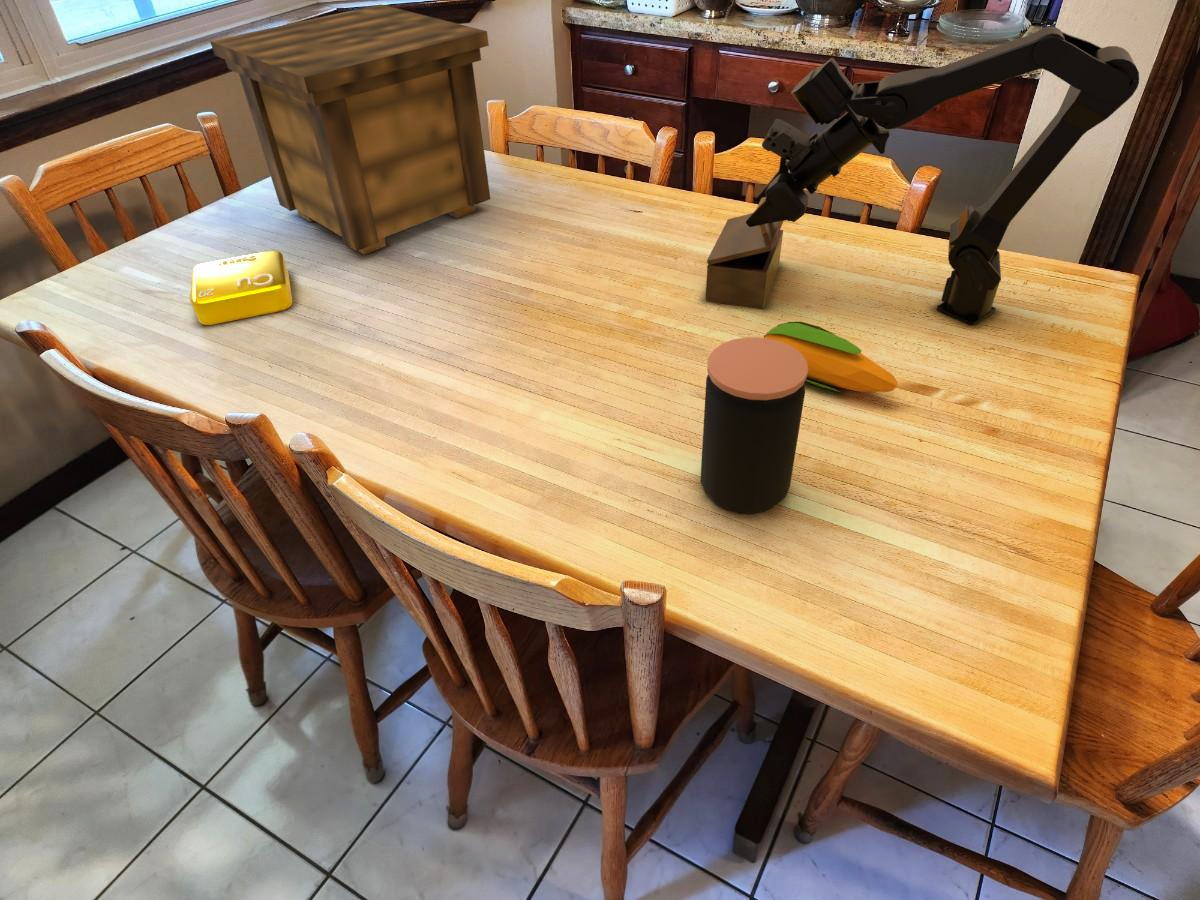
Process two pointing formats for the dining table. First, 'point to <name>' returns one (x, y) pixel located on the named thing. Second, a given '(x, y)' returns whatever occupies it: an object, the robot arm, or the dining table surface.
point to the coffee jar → (751, 422)
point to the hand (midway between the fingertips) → (753, 212)
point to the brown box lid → (744, 239)
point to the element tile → (240, 287)
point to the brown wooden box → (744, 278)
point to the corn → (833, 359)
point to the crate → (366, 118)
